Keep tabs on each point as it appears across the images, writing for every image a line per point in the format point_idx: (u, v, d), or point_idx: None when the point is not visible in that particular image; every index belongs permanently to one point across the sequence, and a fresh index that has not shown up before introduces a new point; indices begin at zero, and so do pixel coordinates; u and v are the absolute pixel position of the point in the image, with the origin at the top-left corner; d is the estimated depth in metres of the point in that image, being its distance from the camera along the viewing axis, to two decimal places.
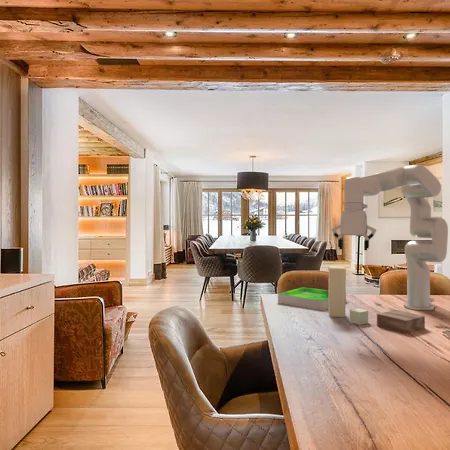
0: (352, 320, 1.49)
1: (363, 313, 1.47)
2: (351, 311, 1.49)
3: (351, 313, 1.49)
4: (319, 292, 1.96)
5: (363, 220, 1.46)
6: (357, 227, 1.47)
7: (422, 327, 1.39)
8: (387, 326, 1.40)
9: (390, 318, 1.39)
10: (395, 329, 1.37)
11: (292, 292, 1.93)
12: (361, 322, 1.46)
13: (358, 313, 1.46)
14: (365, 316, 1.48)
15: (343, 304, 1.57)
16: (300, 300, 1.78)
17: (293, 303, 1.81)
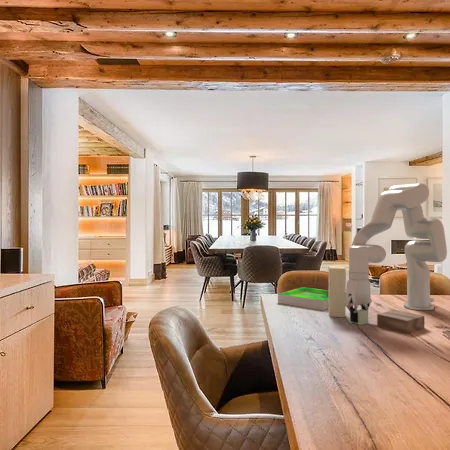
0: None
1: (363, 313, 1.47)
2: None
3: None
4: (319, 292, 1.96)
5: (369, 288, 1.50)
6: (366, 296, 1.48)
7: (422, 327, 1.40)
8: (388, 326, 1.40)
9: (391, 318, 1.39)
10: (396, 329, 1.37)
11: (292, 292, 1.93)
12: (361, 322, 1.46)
13: (358, 313, 1.46)
14: (365, 316, 1.48)
15: (343, 304, 1.57)
16: (300, 300, 1.78)
17: (293, 303, 1.81)
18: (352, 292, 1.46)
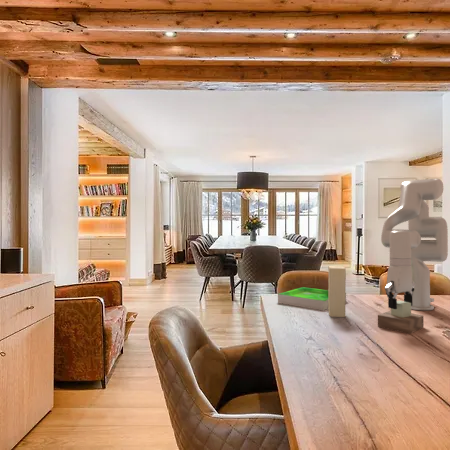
0: (394, 313, 1.42)
1: (406, 305, 1.40)
2: None
3: None
4: (319, 292, 1.96)
5: (412, 275, 1.42)
6: (409, 283, 1.41)
7: (421, 326, 1.40)
8: (389, 327, 1.40)
9: (392, 319, 1.39)
10: (398, 330, 1.37)
11: (292, 292, 1.93)
12: (404, 315, 1.39)
13: (400, 305, 1.39)
14: (408, 308, 1.40)
15: (343, 304, 1.57)
16: (300, 300, 1.78)
17: (293, 303, 1.81)
18: (394, 279, 1.39)
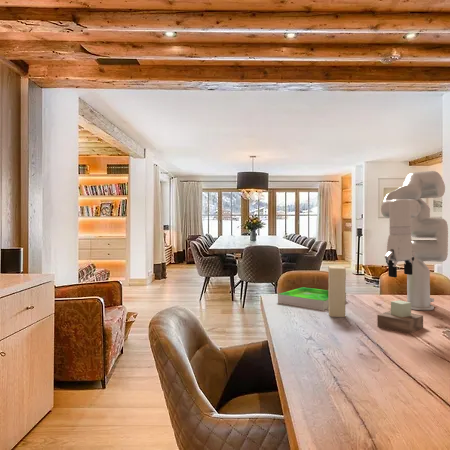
0: (393, 312, 1.42)
1: (405, 305, 1.40)
2: (392, 303, 1.43)
3: (392, 305, 1.43)
4: (319, 292, 1.96)
5: (411, 244, 1.42)
6: (409, 252, 1.41)
7: (421, 326, 1.40)
8: (388, 327, 1.40)
9: (392, 319, 1.39)
10: (397, 330, 1.37)
11: (292, 292, 1.93)
12: (403, 314, 1.39)
13: (400, 305, 1.40)
14: (408, 308, 1.40)
15: (343, 304, 1.57)
16: (300, 300, 1.78)
17: (293, 303, 1.81)
18: (394, 247, 1.39)
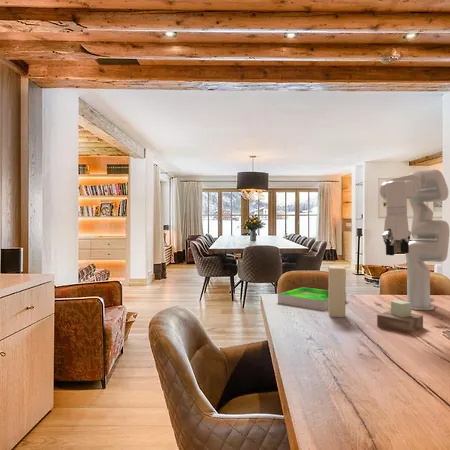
0: (393, 312, 1.43)
1: (405, 305, 1.40)
2: (392, 303, 1.43)
3: (392, 305, 1.43)
4: (319, 292, 1.96)
5: (407, 224, 1.49)
6: (405, 231, 1.47)
7: (421, 326, 1.40)
8: (388, 327, 1.39)
9: (392, 319, 1.38)
10: (397, 330, 1.37)
11: (292, 292, 1.93)
12: (403, 314, 1.40)
13: (400, 305, 1.40)
14: (408, 308, 1.40)
15: (343, 304, 1.57)
16: (300, 300, 1.78)
17: (293, 303, 1.81)
18: (391, 227, 1.45)
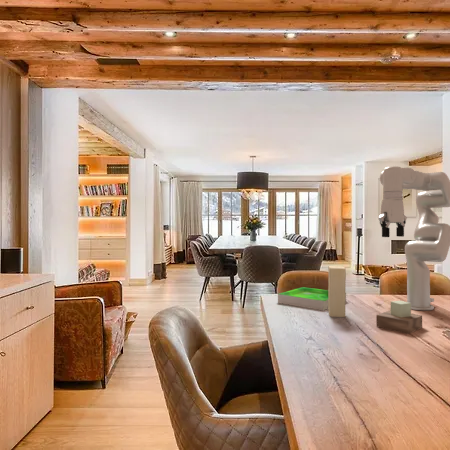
0: (393, 312, 1.42)
1: (405, 305, 1.40)
2: (392, 303, 1.43)
3: (392, 305, 1.43)
4: (319, 292, 1.96)
5: (403, 208, 1.56)
6: (400, 215, 1.55)
7: (420, 326, 1.40)
8: (387, 327, 1.39)
9: (391, 319, 1.38)
10: (396, 330, 1.37)
11: (292, 292, 1.93)
12: (402, 314, 1.39)
13: (399, 305, 1.39)
14: (407, 308, 1.40)
15: (343, 304, 1.57)
16: (300, 300, 1.78)
17: (293, 303, 1.81)
18: (387, 210, 1.52)
